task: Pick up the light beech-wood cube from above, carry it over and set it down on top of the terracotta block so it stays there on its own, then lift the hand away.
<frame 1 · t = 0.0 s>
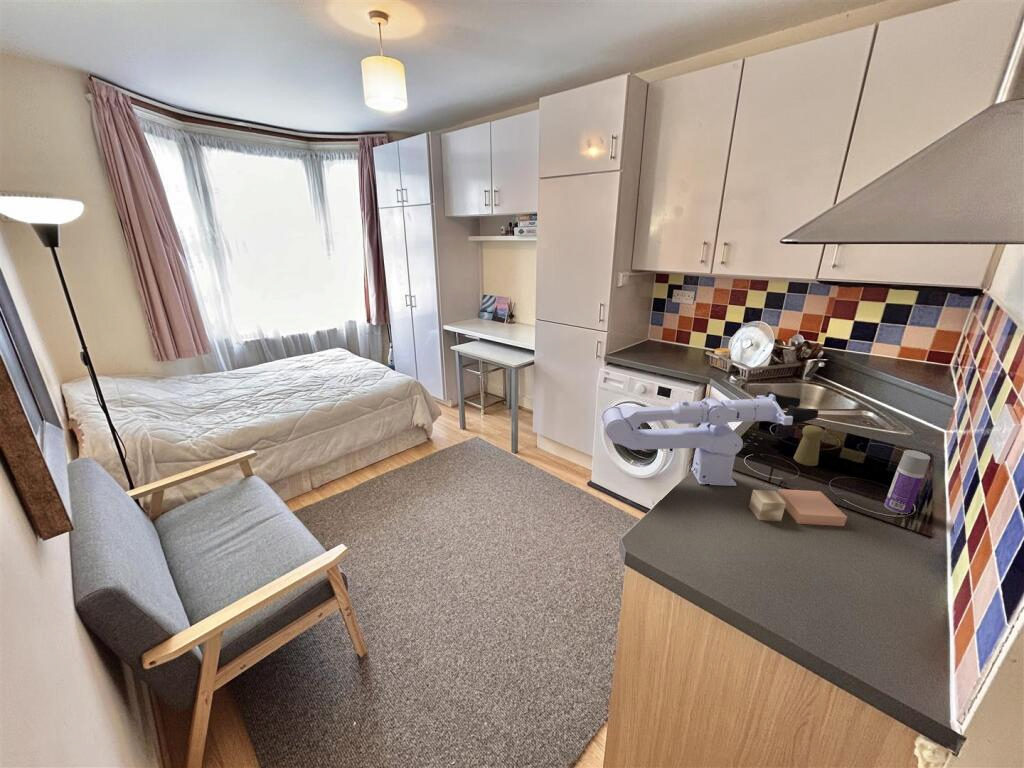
hand: (807, 407, 103), 22 cm above the countertop, tool horizontal, fingers open, 7 cm apart
container: (896, 509, 100), on the countertop
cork: (805, 461, 121), on the countertop
terracotta block: (807, 512, 99), on the countertop
beech cube: (764, 514, 98), on the countertop
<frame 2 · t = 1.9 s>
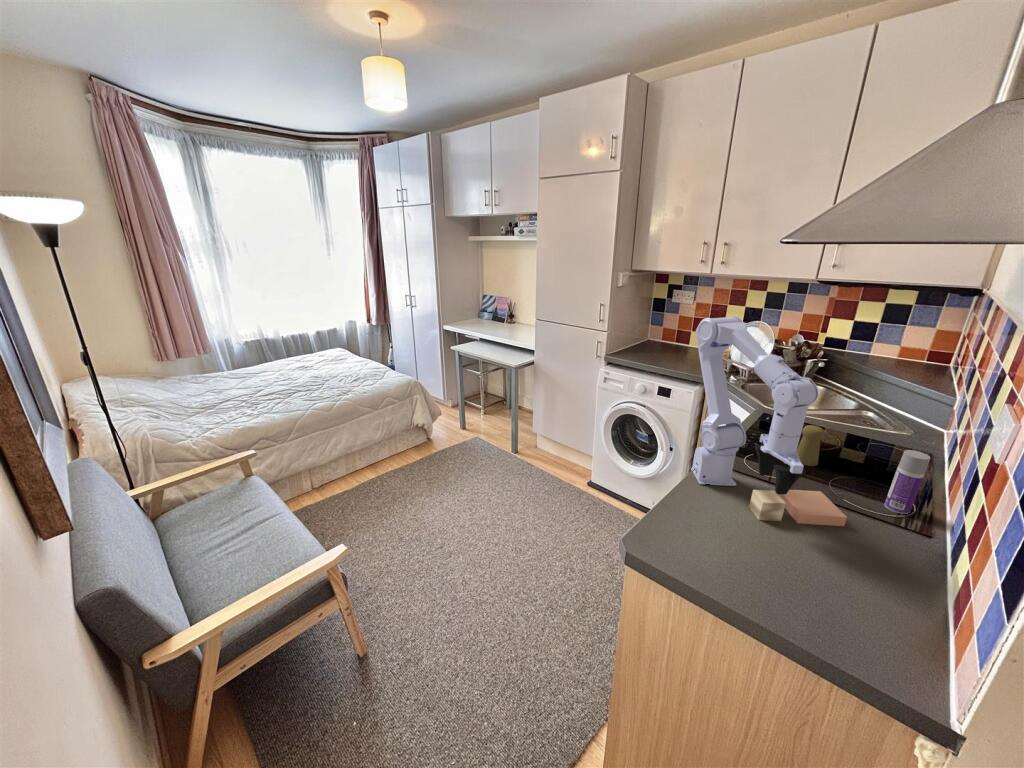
hand: (772, 483, 95), 8 cm above the countertop, tool pointing down, fingers open, 7 cm apart
nothing on the countertop moved.
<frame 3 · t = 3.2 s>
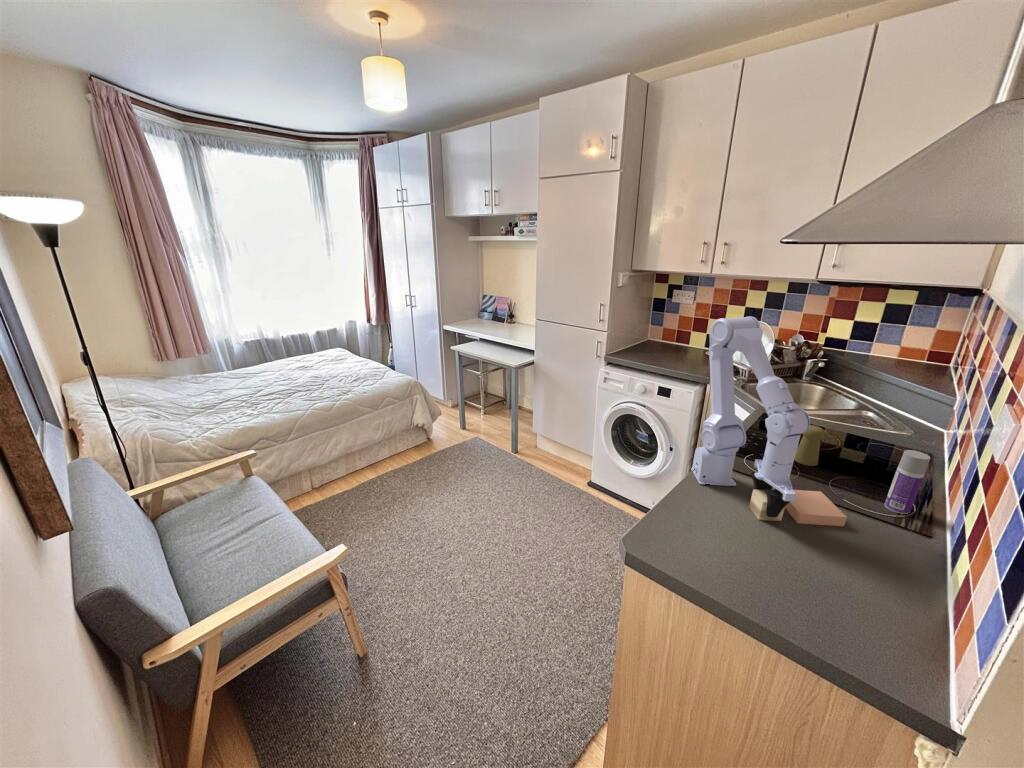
hand: (765, 508, 97), 1 cm above the countertop, tool pointing down, fingers closed on beech cube, 5 cm apart
beech cube: (764, 513, 98), on the countertop, touching gripper
everything else where it was.
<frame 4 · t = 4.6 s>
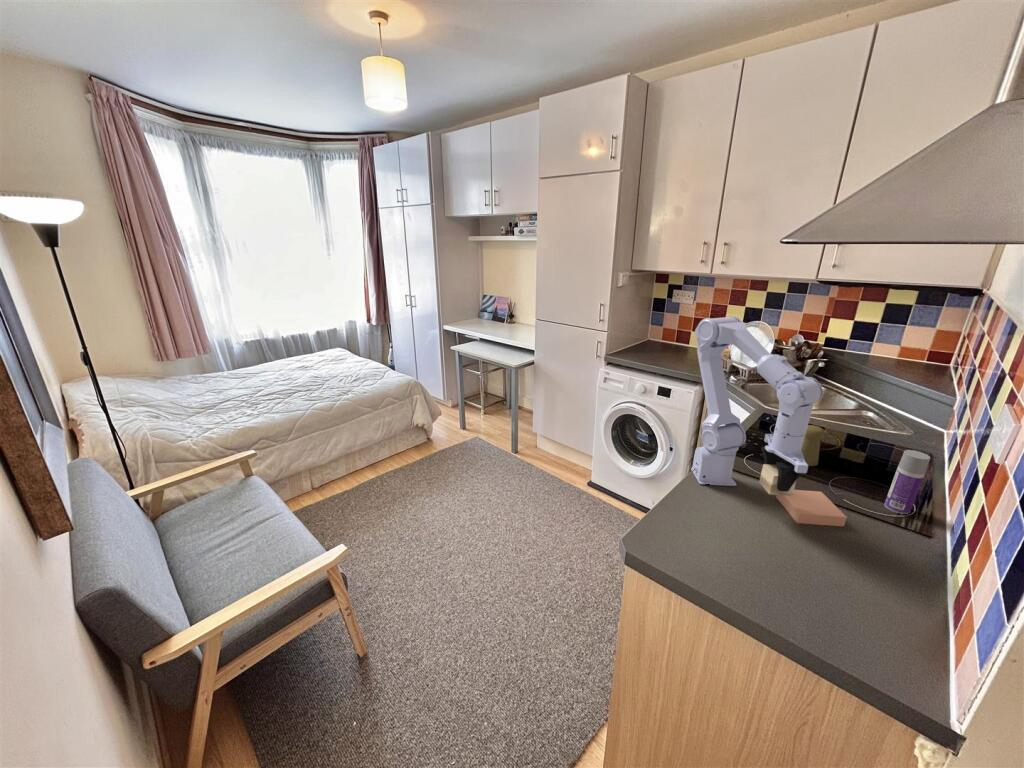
hand: (776, 483, 95), 8 cm above the countertop, tool pointing down, fingers closed on beech cube, 5 cm apart
beech cube: (775, 488, 96), point 7 cm above the countertop, touching gripper
everything else where it was.
when the fingers open (5 cm above the countertop, at t = 6.4 s): beech cube drops 1 cm, resting on terracotta block.
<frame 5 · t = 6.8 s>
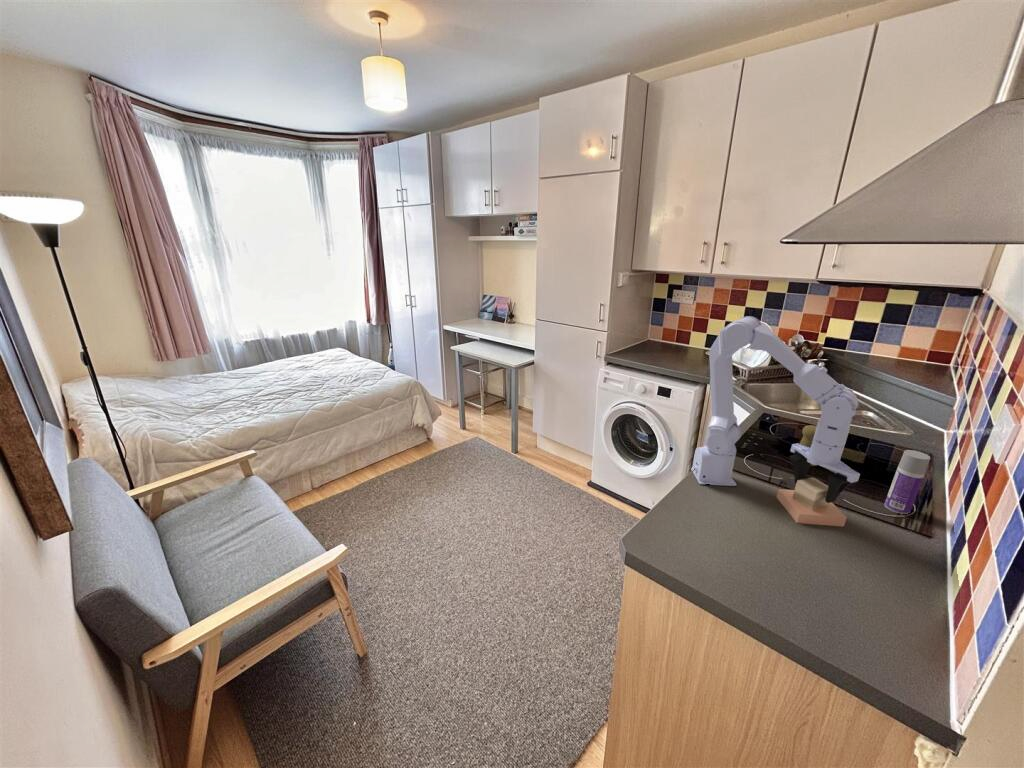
hand: (813, 492, 97), 5 cm above the countertop, tool pointing down, fingers open, 7 cm apart
terracotta block: (807, 512, 99), on the countertop, touching beech cube
beech cube: (809, 502, 98), point 2 cm above the countertop, touching terracotta block
everything else where it was.
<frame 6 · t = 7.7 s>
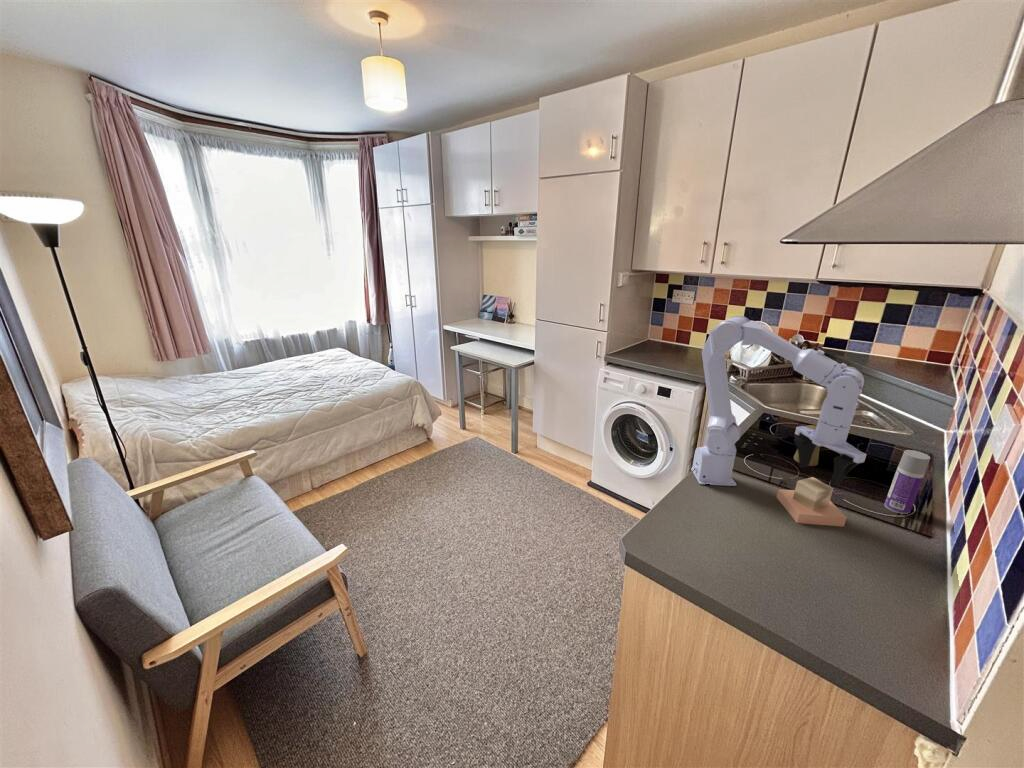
hand: (818, 474, 95), 10 cm above the countertop, tool pointing down, fingers open, 7 cm apart
nothing on the countertop moved.
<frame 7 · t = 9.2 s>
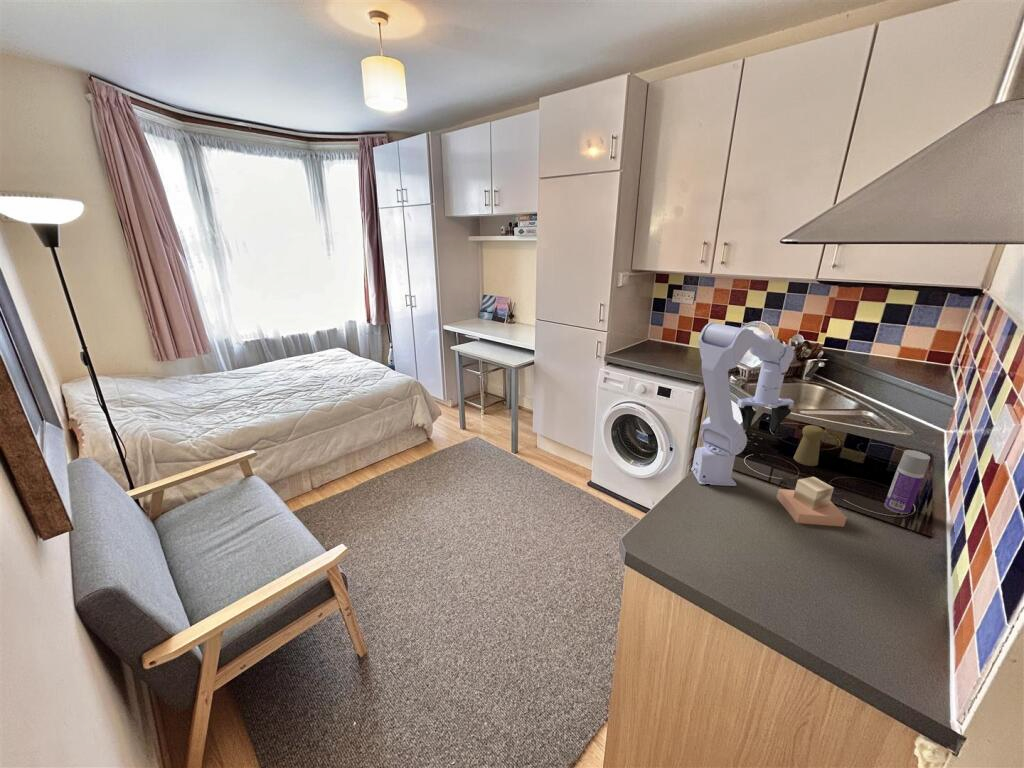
hand: (759, 429, 117), 10 cm above the countertop, tool pointing down, fingers open, 7 cm apart
nothing on the countertop moved.
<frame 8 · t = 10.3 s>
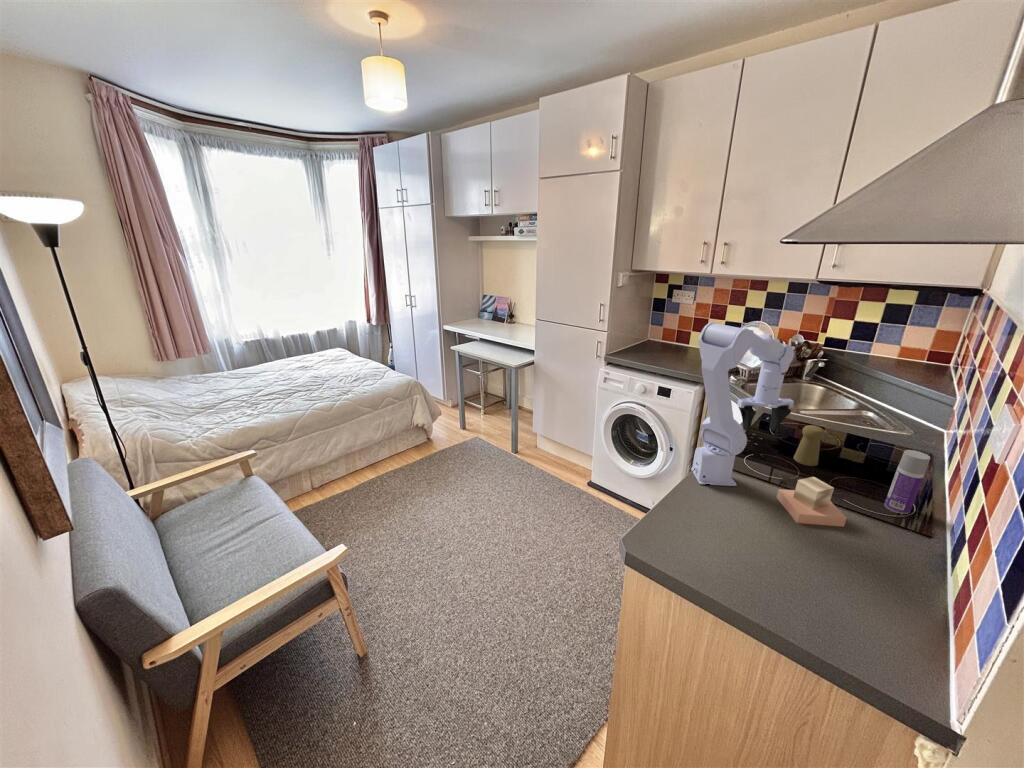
hand: (759, 429, 117), 10 cm above the countertop, tool pointing down, fingers open, 7 cm apart
nothing on the countertop moved.
at the end: beech cube 0.3 cm off-centre on the terracotta block, point 3.0 cm above the terracotta block's base; beech cube tilted 0°; the gripper is holding nothing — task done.
